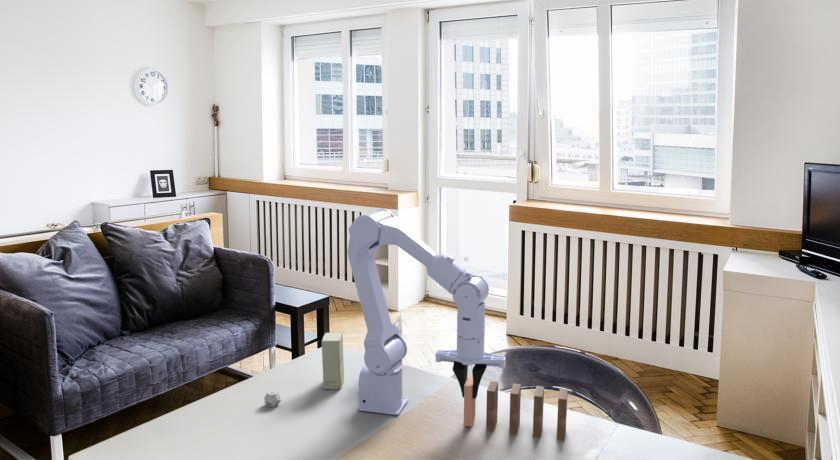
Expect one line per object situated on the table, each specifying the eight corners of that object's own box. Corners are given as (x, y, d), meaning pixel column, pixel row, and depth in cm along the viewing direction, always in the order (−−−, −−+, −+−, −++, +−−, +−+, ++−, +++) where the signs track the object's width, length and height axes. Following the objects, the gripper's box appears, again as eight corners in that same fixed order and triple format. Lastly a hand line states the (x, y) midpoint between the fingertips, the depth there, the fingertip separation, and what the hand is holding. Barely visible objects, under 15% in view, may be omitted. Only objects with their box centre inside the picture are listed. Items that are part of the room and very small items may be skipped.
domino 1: (486, 431, 138) (486, 390, 137) (489, 420, 143) (490, 380, 141) (493, 432, 138) (494, 391, 136) (497, 421, 143) (498, 381, 141)
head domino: (463, 425, 140) (464, 385, 138) (468, 414, 144) (468, 375, 142) (471, 426, 139) (471, 386, 137) (475, 415, 144) (475, 376, 142)
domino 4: (556, 440, 135) (558, 398, 133) (558, 428, 140) (559, 388, 138) (564, 441, 134) (566, 399, 133) (565, 429, 139) (567, 389, 137)
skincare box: (341, 389, 158) (340, 341, 156) (322, 389, 158) (321, 341, 156) (344, 378, 164) (343, 332, 162) (326, 378, 164) (325, 331, 162)
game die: (272, 410, 148) (271, 397, 147) (261, 405, 150) (260, 393, 149) (284, 404, 151) (283, 392, 150) (273, 400, 153) (272, 388, 152)
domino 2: (509, 434, 137) (510, 393, 135) (512, 422, 142) (513, 383, 140) (516, 435, 137) (518, 394, 135) (519, 423, 142) (521, 384, 140)
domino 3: (532, 437, 136) (534, 395, 134) (534, 425, 141) (536, 385, 139) (540, 438, 136) (542, 396, 134) (542, 426, 140) (544, 386, 139)
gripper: (432, 338, 136) (431, 400, 139) (502, 344, 132) (501, 408, 135) (440, 327, 143) (439, 386, 145) (507, 333, 139) (506, 393, 142)
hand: (469, 396), depth 141 cm, fingers closed on head domino, 2 cm apart
